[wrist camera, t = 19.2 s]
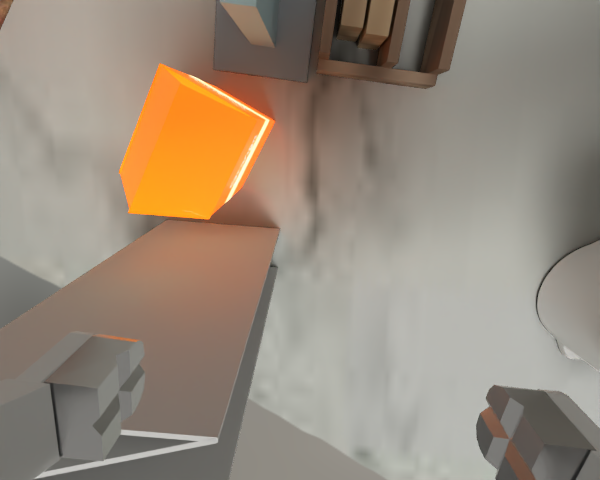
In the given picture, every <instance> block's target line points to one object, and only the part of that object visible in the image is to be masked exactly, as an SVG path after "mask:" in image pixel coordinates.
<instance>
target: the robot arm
mask: <svg viewBox="0 0 600 480" xmlns="http://www.w3.org/2000/svg"><path fill="white" fill-rule="evenodd" d="M537 309H538V314H539V318H540V320H541V322H542V324H543V325H544V327H545V328H546V329H547V330H548V331H549V332H550V333H551V334H552V335H553V336H554V337H555V338H556V339H557V343H558V346H559V349H560V351H561V353H562V354H563V355H565V356H566V357H568V358H569V359H582V360H583V361H585V362H586V363H587V364H589V365H590V366H591V367H593V368H594V369H595V370H597V371H598V372H600V240H598V241H597V242H594V243H592V244H590V245H587V246H585V247H582V248H580V249H578V250H576V251H574V252H572V253H571V254H569V255H568V256H566V257H565V258H563V259H562V260H561V261H560V262H559V263H558V264H557V265H556V266H555V267H554V268H553V269H552V270H551V271H550V272H549V274H548V275H547V277H546V278H545V280H544V282H543V284H542V286H541V288H540V291H539V295H538V300H537ZM143 357H144V343H143V342H142V341H141V340H137V339H130V338H123V337H116V336H110V335H103V334H95V333H88V332H80V331H74V332H70V333H68V334H67V335H66V336H65V337H64V338H63V339H61V340H60V341H59V342H58V343H57V344H56V345H54V346H53V347H52V348H51V349H50V350H48V351H47V352H46V353H45V354H44V355H43V356H41V357H40V358H39V359H38V360H37V361H36V362H34V363H33V364H32V365H31V366H30V367H29V368H27V369H26V370H25V371H24V372H23V373H22V374H20V375H19V376H18V377H17V378H16V379H4V380H2V381H0V480H33V479H34V478H36V477H37V476H39V475H40V474H41V473H43V472H44V471H45V470H47V469H48V468H50V467H51V466H52V465H54V464H55V463H56V462H58V461H59V460H60V457H61V458H72V459H84V460H95V461H104V460H105V458H106V456H107V455H108V453H109V452H110V450H111V448H112V447H113V445H114V444H115V442H116V440H117V439H118V437H119V436H120V434H121V422H122V421H123V420H125V419H127V418H128V417H130V416H132V414H133V413H134V411H135V409H136V408H137V406H138V404H139V401H140V399H141V396H142V393H143V389H144V383H145V371H144V370H143V369H142V367H141V366H140V365H139V363H140V361H141V360H142V358H143ZM486 400H487V402H488V405H489V407H488V408H487V409H485V410H484V411H483V412H481V413H480V415H479V418H478V421H477V424H476V431H477V440H478V444H479V447H480V450H481V452H482V454H483V456H484V458H485V459H486V460H487V461H488V462H489V463H491V464H492V465H493V466H494V467H495V468H496V469H497V472H496V477H495V479H496V480H600V428H599V427H598V426H597V425H596V424H595V423H594V422H593V421H592V420H591V419H590V418H589V417H588V416H587V415H586V414H585V413H584V412H583V411H582V410H581V409H580V408H579V407H578V405H577V404H576V403H575V402H574V401H573V400H572V399H571V398H570V397H569V396H567V395H566V394H564V393H562V392H559V391H549V390H539V389H538V390H533V389H525V388H516V387H508V386H500V385H494V386H493V387H492V388H490V389H489V392H488V394H487V396H486Z"/></svg>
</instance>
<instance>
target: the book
mask: <svg viewBox="0 0 600 480" xmlns="http://www.w3.org/2000/svg"><path fill="white" fill-rule="evenodd" d="M12 2H13V0H0V29H1V27H2V24H3V22H4V20H5V17H6V15H7V13H8V11H9V8H10V6H11V4H12Z"/></svg>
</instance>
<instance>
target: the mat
mask: <svg viewBox="0 0 600 480" xmlns="http://www.w3.org/2000/svg"><path fill="white" fill-rule="evenodd" d="M316 2H317V0H280V1H279V12H278V22H277V33H276V44H275V48H273V47H266V46H258V45H251V43H250V42H249V41H248V39H247V38H246V37H245V35H244V34H243V33H242V31H241V30H240V29H239V27H238V26H237V24H236V23H235V22H234V20H233V19H232V18H231V16H230V15H229V14H228V12H227V11H226V10H225V8H224V7H223V6H222V4H221V3H220V0H216V22H215V46H214V70H219V71H226V72H233V73H240V74H248V75H255V76H262V77H269V78H277V79H284V80H291V81H299V82H306V83H307V75H308V67H309V59H310V50H311V42H312V34H313V26H314V18H315V10H316Z"/></svg>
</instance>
